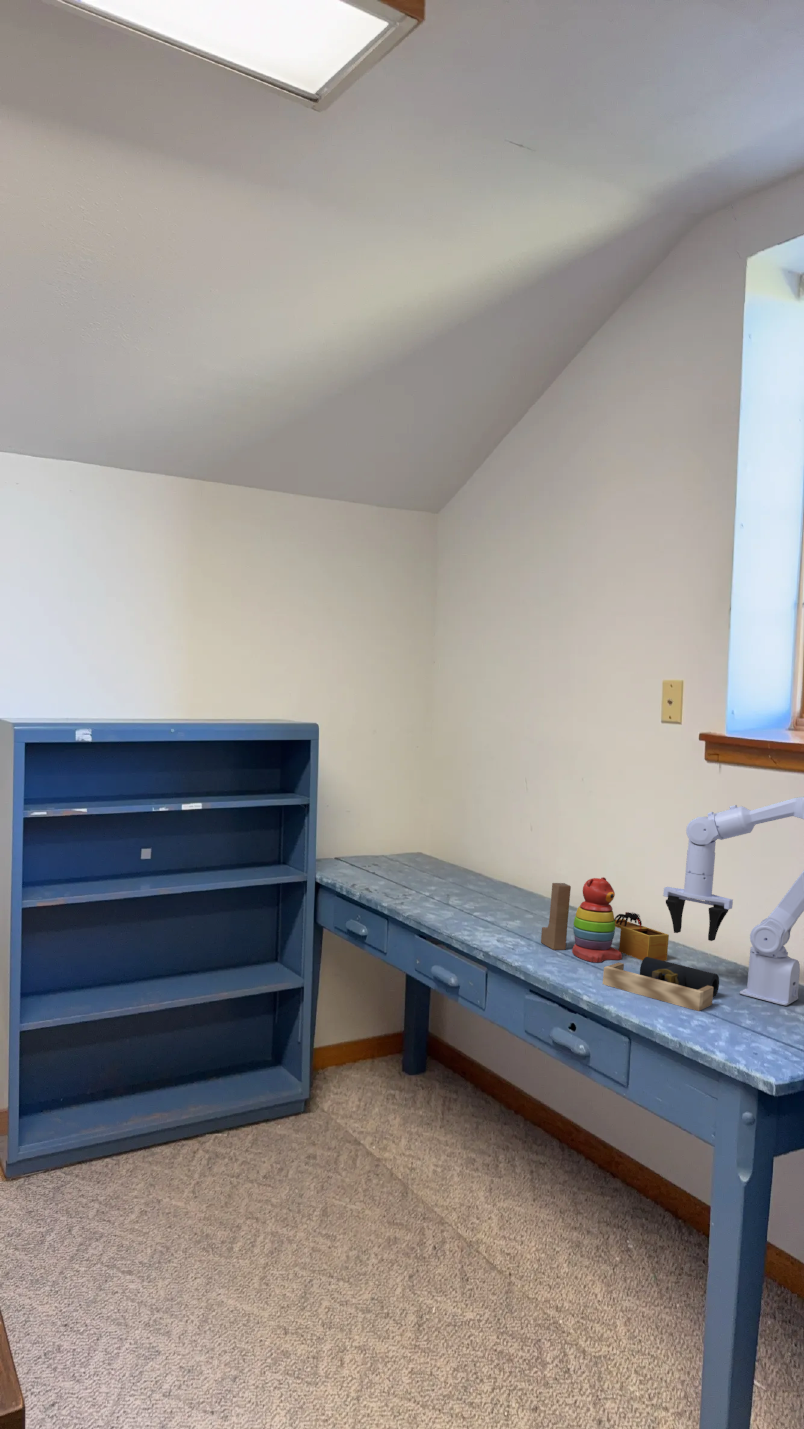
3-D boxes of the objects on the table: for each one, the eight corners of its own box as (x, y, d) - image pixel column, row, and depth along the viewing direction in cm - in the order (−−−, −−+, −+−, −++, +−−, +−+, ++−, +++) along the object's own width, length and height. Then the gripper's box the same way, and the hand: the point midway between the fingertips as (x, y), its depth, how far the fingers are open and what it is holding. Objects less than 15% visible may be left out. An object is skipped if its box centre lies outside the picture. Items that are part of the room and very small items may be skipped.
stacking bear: (593, 963, 209) (600, 883, 209) (560, 952, 217) (566, 875, 217) (625, 959, 216) (632, 881, 216) (592, 948, 224) (598, 873, 224)
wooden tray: (712, 1004, 185) (713, 987, 185) (698, 1011, 180) (700, 993, 180) (617, 979, 198) (618, 962, 198) (602, 984, 193) (603, 967, 193)
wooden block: (565, 950, 220) (571, 885, 219) (553, 950, 219) (558, 885, 218) (552, 942, 226) (557, 880, 226) (540, 942, 225) (545, 879, 225)
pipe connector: (698, 980, 184) (627, 961, 193) (696, 1007, 184) (624, 987, 193) (720, 971, 193) (651, 954, 202) (717, 997, 193) (648, 979, 202)
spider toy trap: (621, 943, 231) (624, 906, 231) (667, 960, 218) (670, 920, 218) (601, 945, 227) (604, 907, 227) (646, 962, 214) (650, 921, 214)
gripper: (740, 877, 201) (734, 941, 201) (675, 865, 210) (669, 926, 210) (727, 880, 195) (722, 945, 195) (661, 868, 204) (656, 930, 205)
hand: (694, 936), depth 202 cm, fingers open, 7 cm apart
